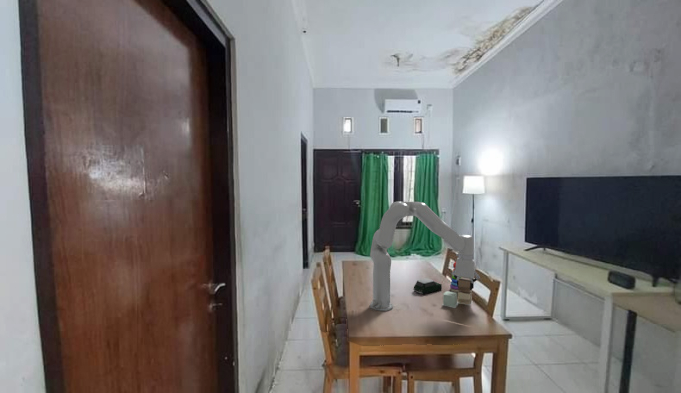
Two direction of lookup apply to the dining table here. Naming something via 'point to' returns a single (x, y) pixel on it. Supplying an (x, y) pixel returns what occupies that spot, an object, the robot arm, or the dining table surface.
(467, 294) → the beech block
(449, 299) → the sage block
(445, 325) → the dining table surface
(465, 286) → the walnut block
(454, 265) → the stacking toy
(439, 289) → the miniature car
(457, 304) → the blueprint mat
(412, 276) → the dining table surface
